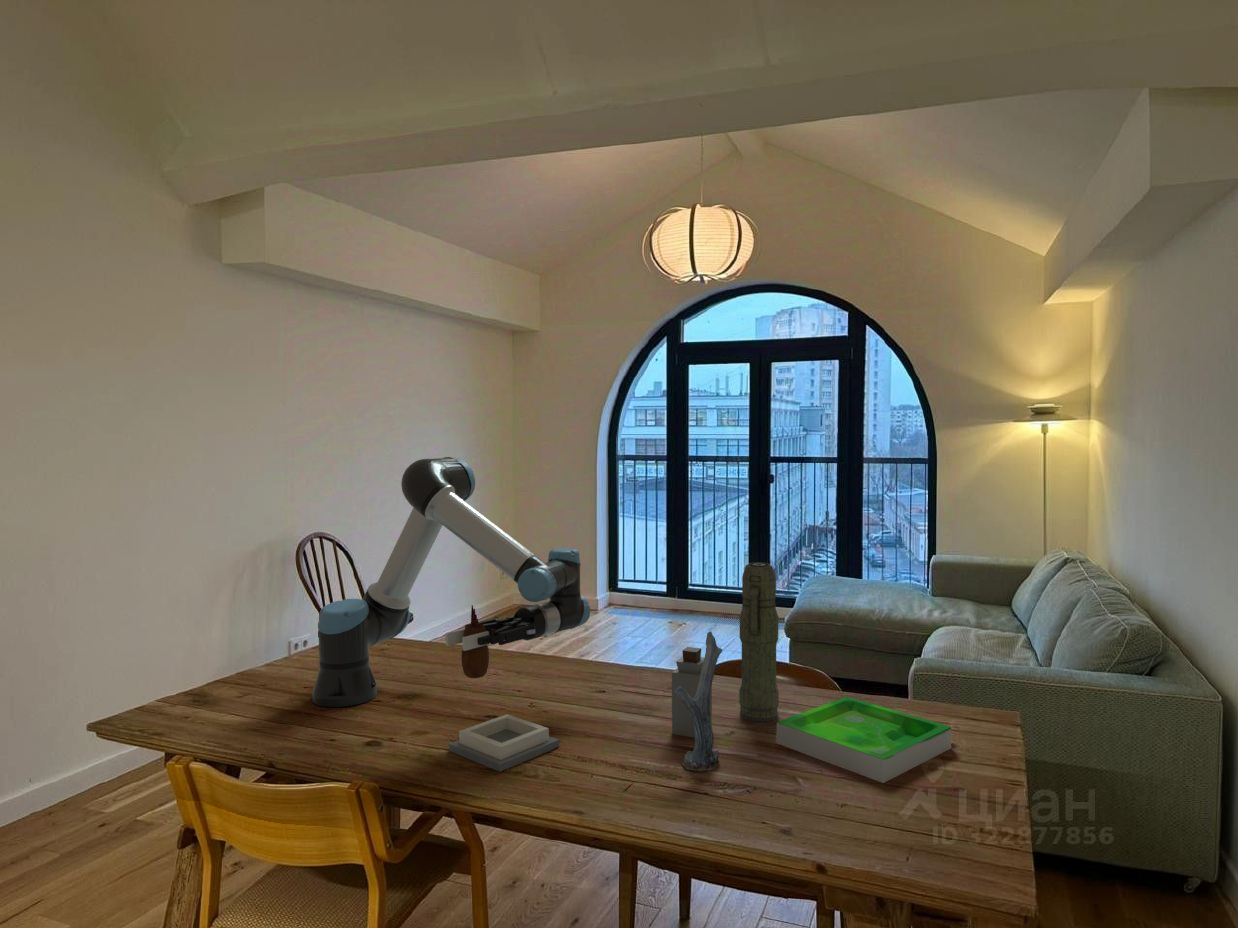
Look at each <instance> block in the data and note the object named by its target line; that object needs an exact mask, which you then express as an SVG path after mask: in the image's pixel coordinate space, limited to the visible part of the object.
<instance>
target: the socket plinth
mask: <svg viewBox="0 0 1238 928" xmlns="http://www.w3.org/2000/svg"><path fill="white" fill-rule="evenodd" d="M549 730H550V729H549V728H548V727H546V726H543V725H541V724H537V723H535V722H531V721H529V720H525V719H522V718H519V717H516V716H514V715H511V714H508V713H506V714H504V715H501V716H498V717H495V718H492V719H490V720H487V721H484V722H481V723H479V724H475V725H473V726H469V727H467V728H464V729H461V730H459V731H458V733H459V734H458V736H459V737H458V740H455V741H452V742H449V743H448V751H449V752H451V753H453V754H456V755H458V756H461V757H463V758H466V759H468V760H470V761H473V762H476V763H478V764H480V765H483V766H484V767H487V768H490V769H492V770H494V771H497V772H499V773H500V772H501V773H502V772H503V770H504V771H506V770H508V769H510V767H511V768H513V767H515V766H518V765H520V764H522V762H523V763H525V762H527V761H530V760H531V759H534V758H536V756H537V757H539V756H540V755H544V754H546V753H548V752H550V750H551V751H553V750H555V749H557V748H556V747H558V748H559V747H560V739H558V738H555V737H552V736H550V731H549ZM554 748H555V749H554ZM552 749H553V750H552ZM547 751H548V752H547ZM545 752H546V753H545ZM543 753H544V754H543ZM529 759H530V760H529ZM505 769H506V770H505Z"/></svg>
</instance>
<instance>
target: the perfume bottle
mask: <svg viewBox="0 0 1238 928" xmlns="http://www.w3.org/2000/svg"><path fill="white" fill-rule="evenodd" d="M681 652H682V656H681V657H680V658H678V659H677V660H676V661H675V663H676V667H677V668H676V669H675V670H673V671H671V734H672V735H675V736H676V735H677V736H681V737H688V738H694V739H695V732H694V724H693V723H692V719H691V716H690V715H689V712H688V710H687V707H686V705H685V703H683V701H682V700H680V699H679V698H678V696H677V695H676V693H675V689H676V688H677V687H679V686H681V687H683V688H684V690H685V691H686V692H687V693H688V695H689V696H690V697H692V698H694V697H695V695H696V692H697V688H698V683H699V679H700V674H701V670H702V666H703V662H704V658H705V656H704V657H703V656H702V647H701V648H700V647H691V646H687V647H685V648H683V649H682V651H681ZM712 688H713V686H711V691H710V708H709V709H710V715H711V716H710V722H711V728H712V727H713V726H712V725H713V724H712V723H713V722H712V721H713V718H712V714H713V713H712V711H713V709H712V707H713V698H712V696H713V695H712V693H713V691H712V690H713V689H712ZM712 729H713V728H712Z"/></svg>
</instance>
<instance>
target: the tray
mask: <svg viewBox="0 0 1238 928" xmlns="http://www.w3.org/2000/svg"><path fill="white" fill-rule="evenodd" d="M776 744H778V745H781V746H783V747H786V748H788V749H791V750H794V751H797V752H799V753H801V754H804V755H807V756H810V757H812V758H814V759H818V760H820V761H822V762H826V763H827V764H831V765H834V766H836V767H839V768H842V769H843V770H847V771H849V772H853V773H855V774H858V775H860V776H863V777H866V778H868V779H870V780H874V781H877V782H880V783H882V784H884V783H886V782H889V781H890V780H892V779H894V778H896V777H898V776H900V775H901V774H904V773H906V772H907V771H909V770H911V769H914V768H916V767H918V766H920V765H921V764H924V763H926V762H928V761H929V760H931V759H933V758H935V757H937V756H939V755H941V754H943V753H945V752H947V751H949V750H950V749H952V726H950V725H946V724H943V723H939V722H936V721H933V720H930V719H926V718H922V717H919V716H915V715H911V714H909V713H906V712H901V711H899V710H895V709H891V708H888V707H885V706H881V705H878V704H874V703H870V702H867V701H863V700H861V699H858V698H854V697H849V696H844V697H841V698H839V699H836V700H833V701H831V702H828V703H825V704H823V705H820V706H816V707H814V708H812V709H809V710H806V711H803V712H801V713H797V714H795V715H792V716H790V717H787V718H784V719H782V720H779V721H776Z"/></svg>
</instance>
